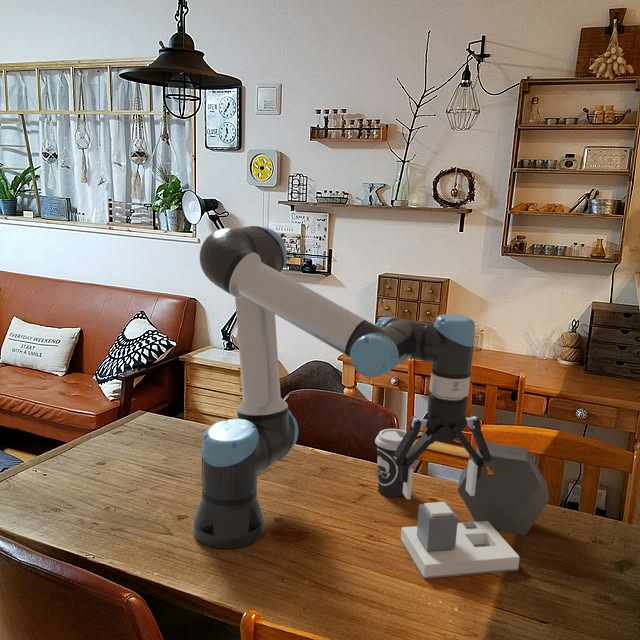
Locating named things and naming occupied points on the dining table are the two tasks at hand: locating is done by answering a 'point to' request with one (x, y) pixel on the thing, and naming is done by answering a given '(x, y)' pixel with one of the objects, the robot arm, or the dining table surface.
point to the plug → (437, 526)
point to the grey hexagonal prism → (507, 490)
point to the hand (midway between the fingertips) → (438, 494)
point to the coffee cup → (389, 462)
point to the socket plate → (463, 552)
